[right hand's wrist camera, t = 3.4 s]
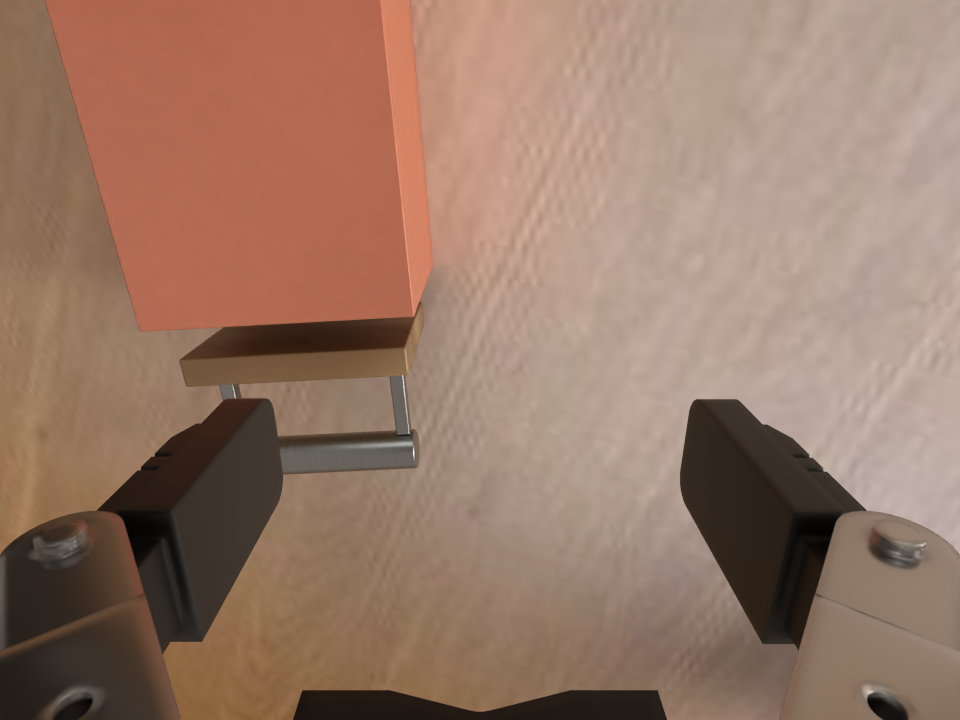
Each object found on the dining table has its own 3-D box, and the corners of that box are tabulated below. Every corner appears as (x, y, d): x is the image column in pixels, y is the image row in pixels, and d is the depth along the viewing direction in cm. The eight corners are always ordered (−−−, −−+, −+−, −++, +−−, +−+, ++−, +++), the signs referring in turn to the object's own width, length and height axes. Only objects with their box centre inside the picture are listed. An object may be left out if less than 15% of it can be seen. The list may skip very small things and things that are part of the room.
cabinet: (433, 267, 29) (414, 317, 21) (234, 278, 29) (139, 332, 21) (398, -129, 23) (353, -274, 15) (149, -111, 23) (-27, -244, 15)
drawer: (433, 416, 31) (421, 488, 25) (269, 425, 31) (215, 498, 25) (390, -22, 24) (358, -80, 17) (176, -7, 24) (66, -59, 18)
